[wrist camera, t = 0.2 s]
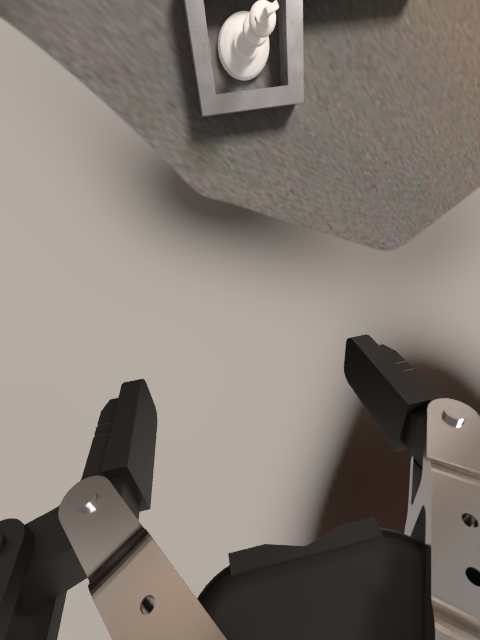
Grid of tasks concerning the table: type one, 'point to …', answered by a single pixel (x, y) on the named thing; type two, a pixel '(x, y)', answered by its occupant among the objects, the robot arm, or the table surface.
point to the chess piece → (247, 40)
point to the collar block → (257, 98)
